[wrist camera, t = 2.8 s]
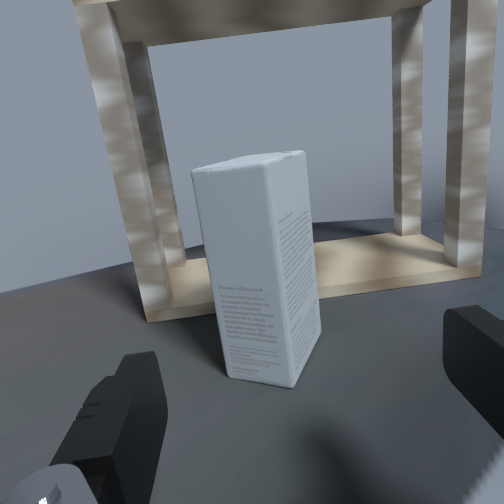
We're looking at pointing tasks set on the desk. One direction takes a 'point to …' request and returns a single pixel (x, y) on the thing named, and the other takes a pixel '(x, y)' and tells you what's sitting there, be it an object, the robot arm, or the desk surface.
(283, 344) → the skincare box
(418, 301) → the desk surface
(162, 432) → the robot arm
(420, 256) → the oak counter shelf
